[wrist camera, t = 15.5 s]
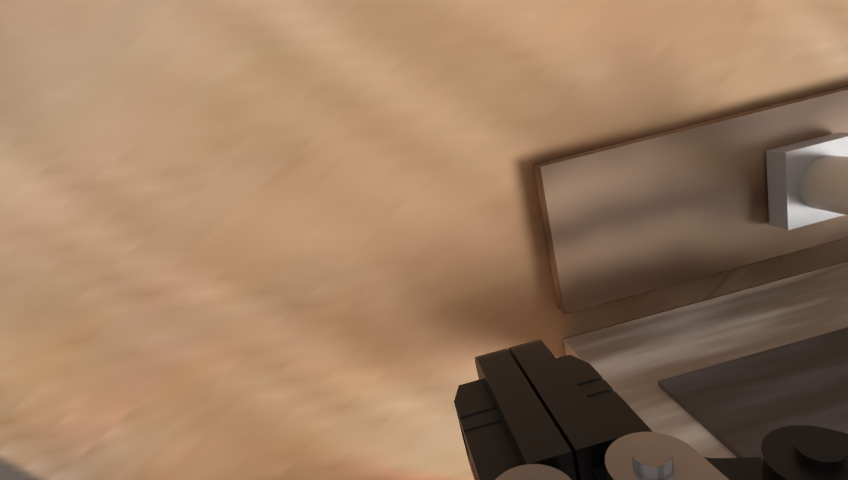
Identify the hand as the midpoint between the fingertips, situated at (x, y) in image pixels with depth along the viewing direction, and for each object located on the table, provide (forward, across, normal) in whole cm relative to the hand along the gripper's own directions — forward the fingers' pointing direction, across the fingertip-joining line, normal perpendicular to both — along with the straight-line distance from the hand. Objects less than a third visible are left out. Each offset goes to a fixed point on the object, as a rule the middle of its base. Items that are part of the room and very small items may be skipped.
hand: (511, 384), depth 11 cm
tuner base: (+27, -27, +9) cm, 39 cm away
